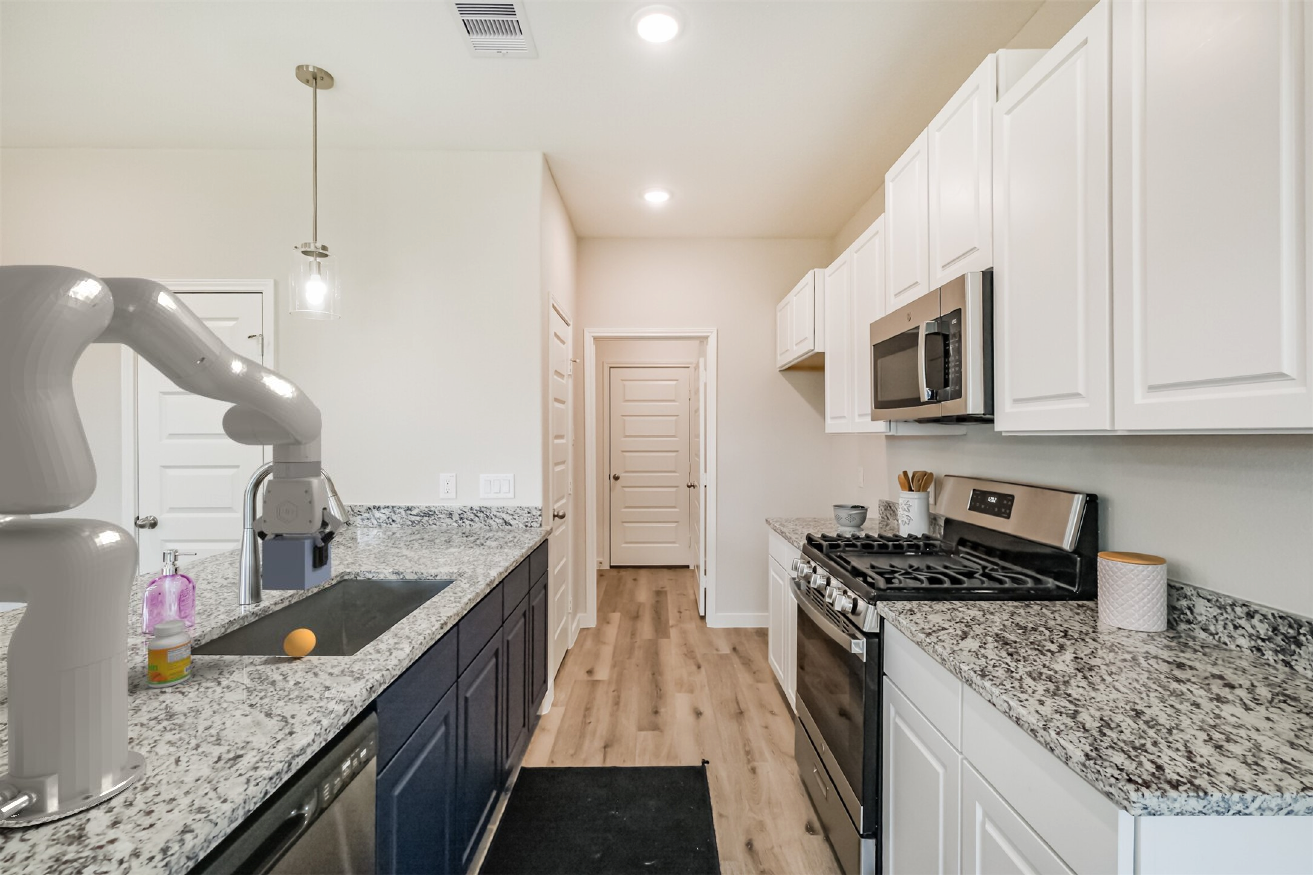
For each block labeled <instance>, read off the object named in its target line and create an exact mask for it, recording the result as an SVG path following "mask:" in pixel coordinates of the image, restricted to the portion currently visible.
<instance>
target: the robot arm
mask: <svg viewBox="0 0 1313 875" xmlns="http://www.w3.org/2000/svg"><path fill="white" fill-rule="evenodd" d="M91 344H121V345H125V346H127V347H128V348H130V349H131V350H132V351H134V352H135V353H136V354H138V355H139V356H140V357H141V358H143V359H144V360H145V361H146V362H148V363H149V364H150V365H151V366H153V367H154V369H156V370H158V371H159V372H160V373H161V374H162V375H164V377H166V378H167V379H168V380H169V381H171V382H172V383H173V384H174V385H175V386H177V387H178V388H179V389H181V390H183V391H186V392H188V393H190V394H194V395H197V396H201V397H203V398H208V399H211V400H216V401H220V402H226V403H230V404H234V405H232V406H231V407H230V408H228V409H227V411H226V412H225V413H224V415H223V417H222V424H221V425H222V428H223V432H224V433H225V434H226V436H227V437H228V438H229V439H230V440H232V441H234V442H235V443H238V444H241V445H245V446H272V464H270V465H268V466H267V468H266V470H267V472H268V473H271V474H272V479H268V480H267V484H266V486H265V490H264V496H263V502H262V503H263V504H262V513H261V515H260V516H259V517H258V518H256V519H255V520H254V521H252V522H251V523H250V526H251V528H252V529H253V530H254V532H255V533H256V535H257V537H258V538H259V539H260V541H261V542H262V541H263V540H267V539H271V538H275V537H279V536H283V535H308V534H310V535H311V537H312V538H314V542H315V543H316V546H315V547H314V548H313V567H314V568H320V567H323V566H325V565H327V561H328V544H329V543H331V544H332V541H333V540H334V539H335V538H336V537H337V536H338V534H339V532H340V531H341V530H342V529H343V527H344V526H345V523H344V522H343V521H342V520H341V519H340V518H338V517H337V516H335V515H334V514H333V513H331V512H330V501H329V493H328V492H329V491H328V488H327V483H326V481H325V480H326V479H325V478H322V427H323V426H322V425H323V423H322V412H321V410H320V409H319V408H318V406H316V405H315V403H314V402H313V401H312V399H310V397H309V396H308V395H307V394H306V393H305V392H304V391H303V390H302V389H301V388H300V386H298V385H297V384H296V383H294V382H293V381H292V380H290V379H289V378H288V377H286V376H284V375H282V374H280V373H279V372H276V371H275V370H273V369H270V368H268V367H266V366H264V365H263V364H260V363H259V362H257V361H254V360H252V359H250V358H248V357H247V356H243V355H240V354H239V353H237V352H235V351H233V350H232V349H231V348H230V347H228V346H227V344H226V343H225V342H224V341H222V339H221V338H220V337H218V336H217V335H216V334H215V333H214V331H213V330H211V328H209V327H208V326H207V324H205V323H204V322H203V321H202V320H201V319H200V317H198V316H197V314H196V313H195V312H194V311H193V310H192V309H190V307H189V306H188V305H186V303H185V302H184V301H183V300H182V299H181V298H179V297H178V295H176V294H175V293H174V292H173V291H172V290H171V289H170V288H169V287H166V285H164V284H162V283H160V282H158V281H155V280H152V279H148V278H142V277H141V278H140V277H98V276H96V275H95V274H93V273H90V271H89V272H88V271H86V270H82V269H80V268H75V267H72V266H71V267H70V266H66V265H65V266H63V265H57V264H55V265H53V264H52V265H51V264H50V265H49V264H12V265H0V603H10V604H11V603H21V604H26V607H25V609H24V610H25V611H24V612H23V615H22V616H21V618H20V620H19V622H18V623H17V625H16V627H15V628H14V630H13V632H12V635H11V637H10V639H9V643H8V646H7V651H6V672H7V674H6V680H7V684H6V685H7V686H6V687H7V691H6V694H7V695H6V696H7V698H6V700H7V772H6V773H5V774H3V775H1V776H0V821H2V820H6V821H27V820H35V819H40V818H43V817H44V818H45V817H51V816H53V815H60V814H65V813H66V812H70V811H74V810H75V809H80V808H83V807H85V806H88V805H92V804H94V803H97V802H98V801H101V800H103V799H105V798H107V797H109V796H111V795H113V794H115V793H117V792H119V791H121V790H122V789H124V788H126V787H127V786H129V785H130V784H131V783H133V782H134V781H135V780H137V779H138V778H139V777H140V776H141V775H142V774H144V773H145V771H146V769H147V768H146V767H147V760H146V757H145V755H144V754H142V753H141V752H139V751H135V750H129V687H128V686H129V682H128V680H129V674H128V673H129V672H128V671H129V670H128V669H129V665H128V661H129V660H128V659H129V658H128V657H129V656H128V655H129V654H128V652H129V650H128V646H129V645H128V644H129V643H128V631H129V628H128V625H129V624H128V622H129V611H130V610H129V608H130V599H131V594H132V590H133V585H134V581H135V578H136V574H137V569H138V565H139V559H140V552H139V545H138V543H137V540H136V539H135V537H134V536H133V535H132V534H131V532H129V531H128V530H127V529H125V528H123V526H121V525H119V524H115V523H113V522H109V521H107V520H101V519H94V518H78V517H77V518H74V517H73V518H70V517H65V518H64V517H60V518H59V517H48V518H47V517H45V518H31V516H30V515H45V514H55V513H60V512H61V513H62V512H64V511H65V512H66V511H69V510H72V509H76V508H77V507H79V506H81V505H82V504H84V503H86V502H87V501H88V500H90V498H91V497H92V496H93V494H94V493H95V490H96V488H97V480H98V479H97V478H98V475H97V474H98V473H97V468H96V465H95V464H96V463H95V460H94V458H93V454H92V451H91V448H90V444H89V442H88V439H87V435H86V431H85V429H84V426H83V422H82V419H81V416H80V414H79V409H78V407H77V406H78V405H77V403H76V397H75V394H74V389H73V374H74V372H75V371H74V370H75V368H76V366H77V363H78V361H79V359H80V358H81V357H82V354H84V351H86V349H87V348H88V347H89V346H90V345H91ZM329 526H330V529H329ZM327 529H329V531H327ZM143 772H144V773H143ZM142 776H143V775H142ZM142 776H141V777H142ZM141 777H140V778H141ZM140 778H139V779H140ZM139 779H138V780H139ZM138 780H137V781H138ZM18 814H19V815H18ZM13 815H17V816H15V817H11V816H13Z"/></svg>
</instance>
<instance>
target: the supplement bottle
mask: <svg viewBox="0 0 1313 875" xmlns="http://www.w3.org/2000/svg"><path fill="white" fill-rule="evenodd" d="M185 630H186V620H184V619H172V620H170V619H169V620H165V621H162V622H159V623H156V624H155V625H153V636H154V637H152V639H150V640H149V641H148V643H147V685H148V687H150V688H154V689H157V688H158V689H159V688H166V687H172V686H175V685H178V684H181V683H183V682H185V681H187V680H188V679H190V677H191V675H192V666H191V665H192V659H191V658H192V655H191V654H192V651H191V650H192V649H191V648H192V647H191V646H192V645H191V643H192V642H191V640H192V637H191V634H190V633H188V632H185Z"/></svg>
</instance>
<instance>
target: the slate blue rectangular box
mask: <svg viewBox="0 0 1313 875" xmlns="http://www.w3.org/2000/svg"><path fill="white" fill-rule="evenodd" d="M315 546H316V543H315V542H314V538H312V537H311V535H310V534H308V535H283V536H279V537H275V538H271V539H267V540H263V541H262V540H261V560H262V561H261V591H306V590H309V589H312V588H314V587H316V586H318V585H320V584H323V583H326V582H328V581H330V580H331V579H332V542H331V543H329V544H328V561H327V565H325V566H323V567H320V568H314V567H313V548H314V547H315Z"/></svg>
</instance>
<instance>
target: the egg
mask: <svg viewBox="0 0 1313 875" xmlns="http://www.w3.org/2000/svg"><path fill="white" fill-rule="evenodd" d="M316 641H317V640H316V636H315V634H314V632H312V630H310V629H309V628H299V629H295V630H293V631H291V632H290V633H289V634H288V635H287V636H286V638H285V639H284V642H283V649H284V652H285V653H286V654H287V655H288V656H290V657H292V658H301V657H305V656H307V655H308V654H310V653H311V652H312V651H313V650H314V648H315V646H316V643H317V642H316Z"/></svg>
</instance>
